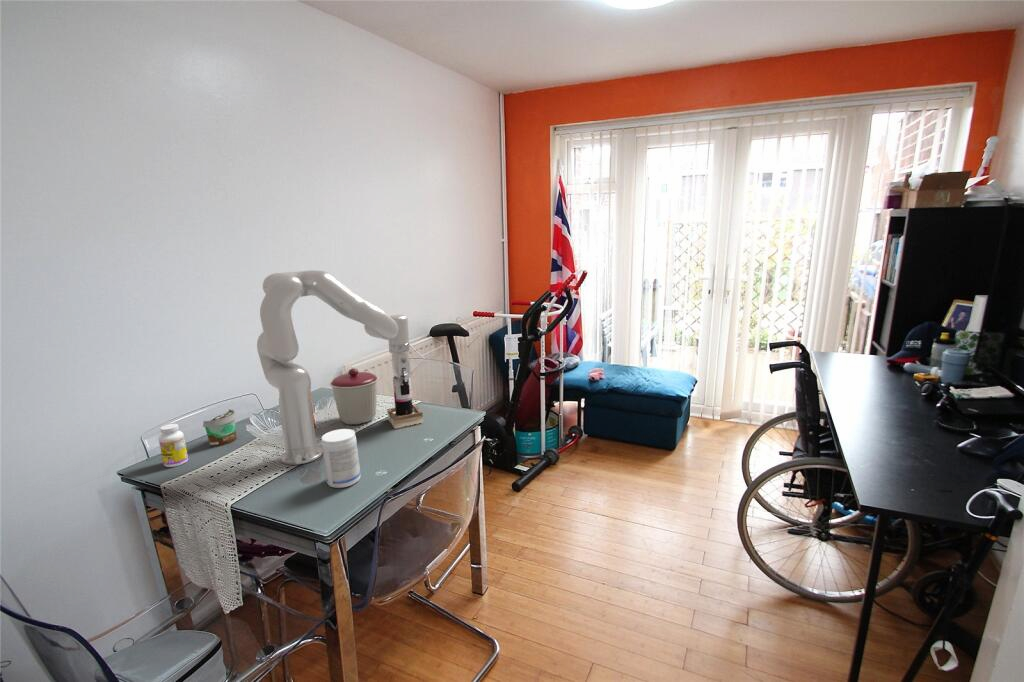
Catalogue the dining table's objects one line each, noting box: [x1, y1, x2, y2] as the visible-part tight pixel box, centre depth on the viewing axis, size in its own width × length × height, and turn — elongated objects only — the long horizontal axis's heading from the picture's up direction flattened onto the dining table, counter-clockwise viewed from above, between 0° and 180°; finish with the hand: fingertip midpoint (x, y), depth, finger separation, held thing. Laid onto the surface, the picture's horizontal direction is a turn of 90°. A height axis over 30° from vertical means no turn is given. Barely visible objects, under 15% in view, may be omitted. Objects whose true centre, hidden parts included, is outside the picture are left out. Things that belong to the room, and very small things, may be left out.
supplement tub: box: [320, 428, 362, 489], centre depth 138 cm, size 10×10×15 cm
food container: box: [202, 409, 238, 447], centre depth 169 cm, size 12×6×10 cm, turn 168°
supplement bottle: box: [158, 423, 189, 468], centre depth 153 cm, size 7×7×13 cm
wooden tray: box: [387, 403, 424, 430], centre depth 184 cm, size 11×11×4 cm
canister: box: [329, 368, 379, 425], centre depth 185 cm, size 18×18×21 cm
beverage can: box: [392, 376, 413, 416], centre depth 182 cm, size 6×6×15 cm
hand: (402, 391), depth 182 cm, fingers open, 9 cm apart
